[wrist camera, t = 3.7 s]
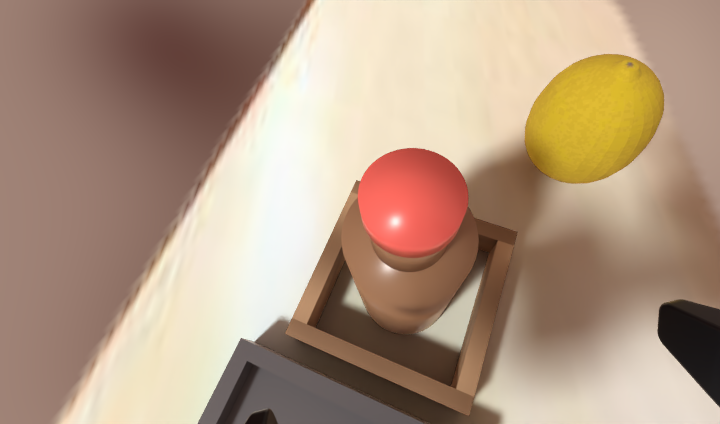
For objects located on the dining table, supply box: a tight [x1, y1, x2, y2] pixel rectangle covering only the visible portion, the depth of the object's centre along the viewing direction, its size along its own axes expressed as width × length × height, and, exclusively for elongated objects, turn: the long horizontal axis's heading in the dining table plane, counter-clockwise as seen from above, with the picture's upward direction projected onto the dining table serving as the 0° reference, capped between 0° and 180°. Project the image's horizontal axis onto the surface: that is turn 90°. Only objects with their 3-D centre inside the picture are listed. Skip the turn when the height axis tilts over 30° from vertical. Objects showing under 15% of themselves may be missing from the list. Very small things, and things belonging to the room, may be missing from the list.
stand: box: [285, 180, 517, 416], centre depth 19 cm, size 9×9×2 cm
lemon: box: [525, 54, 664, 184], centre depth 19 cm, size 6×6×8 cm
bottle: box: [341, 148, 479, 334], centre depth 15 cm, size 5×5×12 cm
